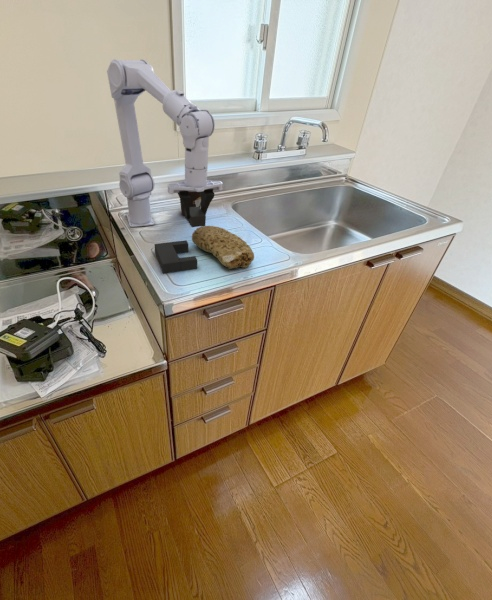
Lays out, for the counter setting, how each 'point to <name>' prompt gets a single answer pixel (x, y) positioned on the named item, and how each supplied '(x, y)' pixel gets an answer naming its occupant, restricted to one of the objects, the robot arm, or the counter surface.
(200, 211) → the pad piece
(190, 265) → the base pad
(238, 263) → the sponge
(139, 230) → the counter surface
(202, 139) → the robot arm
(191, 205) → the coffee mug
